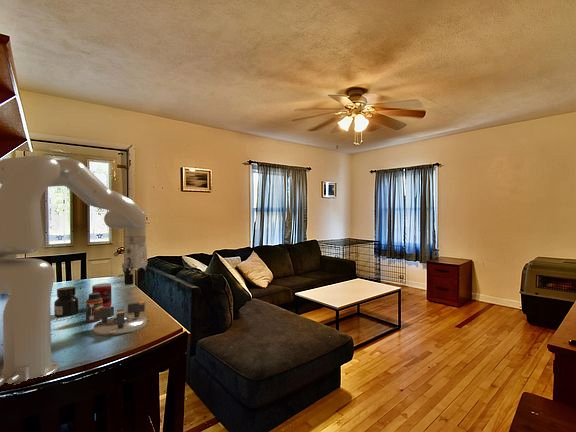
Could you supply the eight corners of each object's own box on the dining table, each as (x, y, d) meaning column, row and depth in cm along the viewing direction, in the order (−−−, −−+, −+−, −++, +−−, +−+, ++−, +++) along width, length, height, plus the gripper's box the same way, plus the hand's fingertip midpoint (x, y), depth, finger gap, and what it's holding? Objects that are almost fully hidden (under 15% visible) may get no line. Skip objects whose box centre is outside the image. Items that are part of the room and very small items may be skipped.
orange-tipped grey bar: (114, 320, 116) (113, 306, 116) (110, 322, 113) (109, 307, 113) (99, 320, 116) (98, 306, 116) (94, 322, 113) (94, 308, 113)
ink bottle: (54, 314, 134) (54, 288, 134) (78, 310, 139) (77, 284, 140) (54, 319, 126) (53, 291, 126) (79, 314, 132) (78, 288, 132)
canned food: (94, 306, 145) (93, 284, 146) (112, 303, 149) (112, 282, 149) (91, 310, 138) (90, 287, 139) (110, 307, 142) (110, 285, 142)
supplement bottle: (94, 322, 120) (94, 295, 120) (82, 322, 121) (81, 295, 122) (106, 318, 126) (105, 291, 126) (94, 317, 127) (94, 291, 127)
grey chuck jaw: (117, 324, 111) (116, 309, 111) (124, 323, 112) (124, 308, 112) (116, 329, 106) (116, 313, 106) (124, 328, 107) (124, 312, 107)
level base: (137, 333, 107) (137, 323, 107) (83, 338, 104) (83, 327, 104) (152, 317, 125) (152, 308, 125) (106, 321, 122) (106, 311, 122)
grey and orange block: (128, 318, 118) (127, 304, 118) (129, 316, 120) (129, 302, 121) (144, 316, 120) (144, 302, 120) (145, 314, 122) (145, 300, 122)
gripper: (133, 241, 112) (133, 286, 111) (154, 239, 129) (154, 278, 128) (113, 241, 112) (113, 286, 111) (137, 239, 129) (137, 278, 128)
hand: (135, 282), depth 120 cm, fingers open, 9 cm apart
